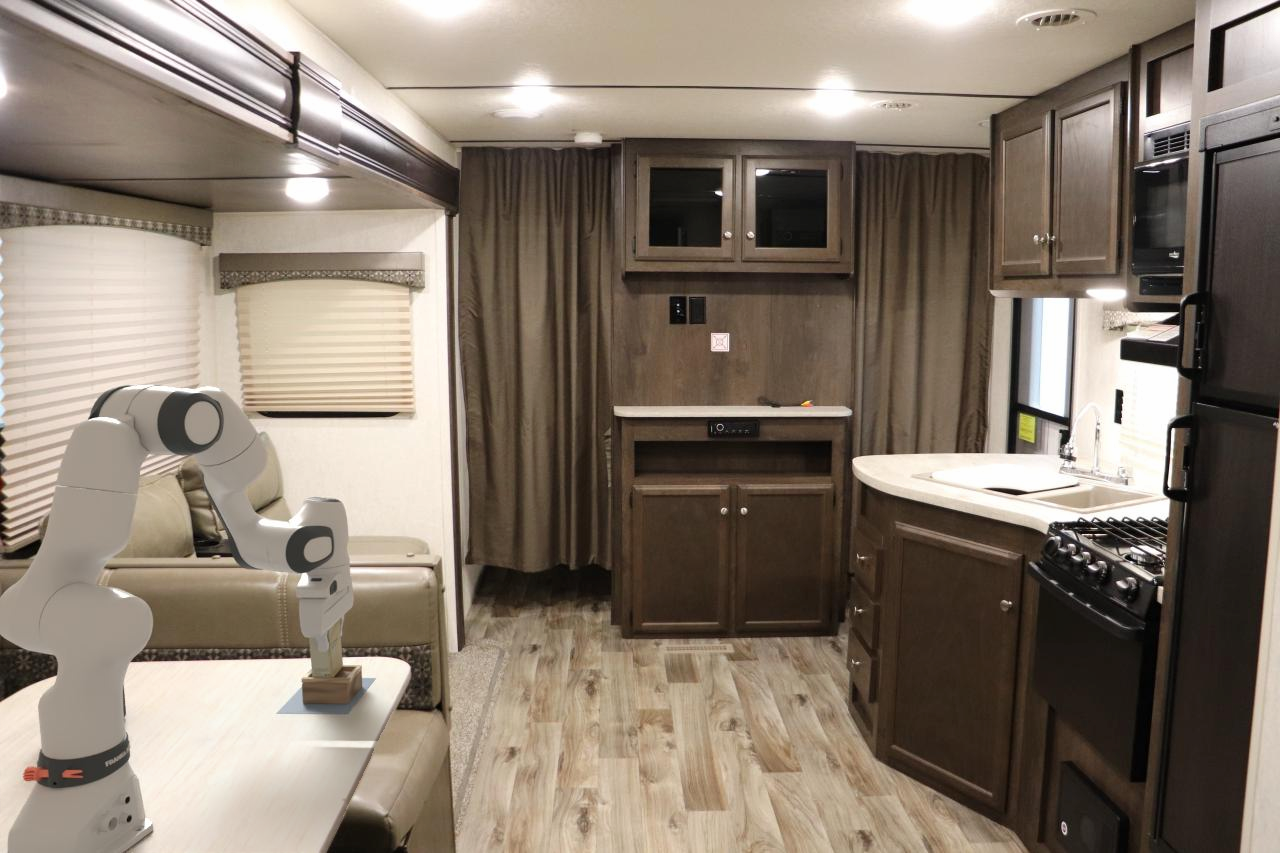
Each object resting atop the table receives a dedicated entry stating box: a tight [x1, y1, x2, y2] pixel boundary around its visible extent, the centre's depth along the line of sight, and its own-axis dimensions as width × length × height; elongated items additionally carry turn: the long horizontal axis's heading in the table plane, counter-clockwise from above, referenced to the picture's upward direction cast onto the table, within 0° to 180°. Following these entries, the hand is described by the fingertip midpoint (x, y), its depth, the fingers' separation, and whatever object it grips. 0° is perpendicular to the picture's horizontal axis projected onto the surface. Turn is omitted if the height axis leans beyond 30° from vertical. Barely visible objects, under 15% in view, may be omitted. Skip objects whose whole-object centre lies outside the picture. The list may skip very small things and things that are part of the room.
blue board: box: [276, 677, 377, 715], centre depth 202 cm, size 18×14×1 cm
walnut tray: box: [301, 664, 363, 704], centre depth 201 cm, size 9×10×5 cm
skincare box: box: [308, 620, 344, 677], centre depth 200 cm, size 6×4×12 cm
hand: (330, 644), depth 200 cm, fingers closed on skincare box, 6 cm apart
